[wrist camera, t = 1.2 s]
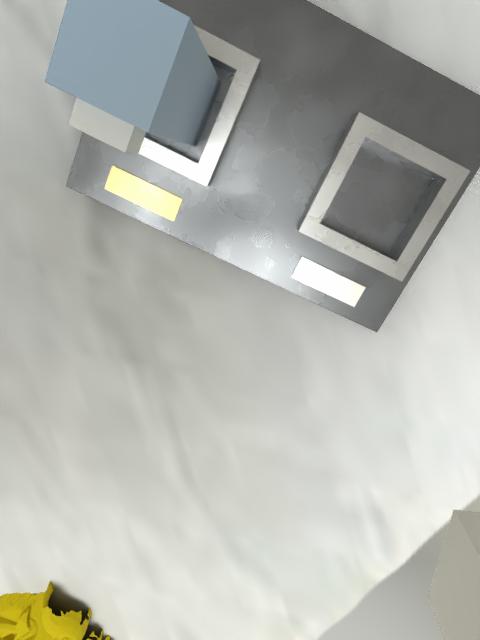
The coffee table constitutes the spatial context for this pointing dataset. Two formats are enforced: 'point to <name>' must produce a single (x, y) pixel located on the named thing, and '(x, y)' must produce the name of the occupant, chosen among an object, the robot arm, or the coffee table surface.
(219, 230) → the panel
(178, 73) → the plug
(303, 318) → the coffee table surface
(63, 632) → the door knocker
